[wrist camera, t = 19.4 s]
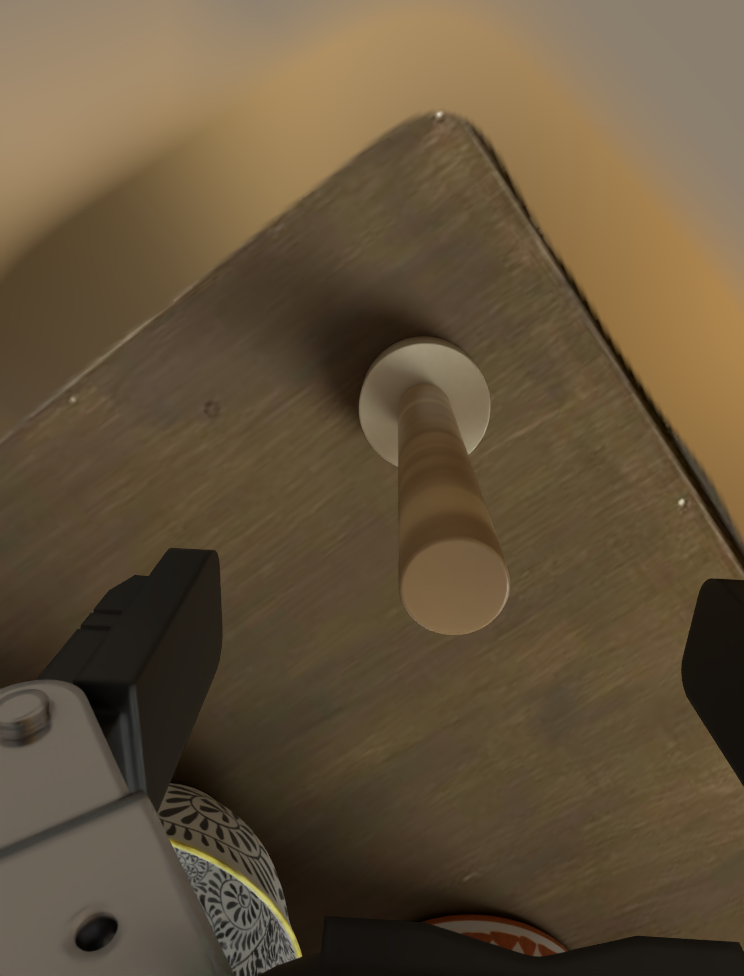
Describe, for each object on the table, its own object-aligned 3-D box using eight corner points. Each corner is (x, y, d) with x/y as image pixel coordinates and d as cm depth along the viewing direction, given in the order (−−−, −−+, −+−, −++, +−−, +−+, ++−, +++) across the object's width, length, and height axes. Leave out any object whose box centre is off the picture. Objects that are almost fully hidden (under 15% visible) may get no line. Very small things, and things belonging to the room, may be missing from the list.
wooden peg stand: (339, 370, 26) (264, 527, 11) (453, 314, 26) (534, 403, 11) (393, 476, 28) (389, 739, 13) (503, 426, 27) (636, 646, 12)
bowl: (58, 666, 32) (-39, 784, 25) (365, 766, 33) (356, 905, 26) (4, 889, 37) (-89, 1039, 30) (271, 967, 38) (243, 1128, 31)
